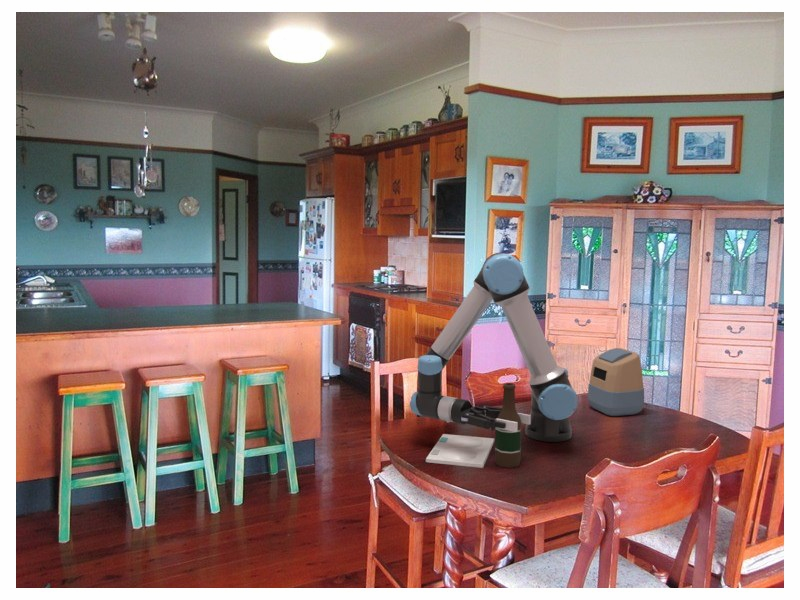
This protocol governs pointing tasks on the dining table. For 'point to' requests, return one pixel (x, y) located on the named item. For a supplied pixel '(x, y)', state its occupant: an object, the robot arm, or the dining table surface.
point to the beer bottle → (508, 432)
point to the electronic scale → (461, 450)
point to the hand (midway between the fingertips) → (523, 423)
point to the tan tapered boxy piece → (616, 383)
